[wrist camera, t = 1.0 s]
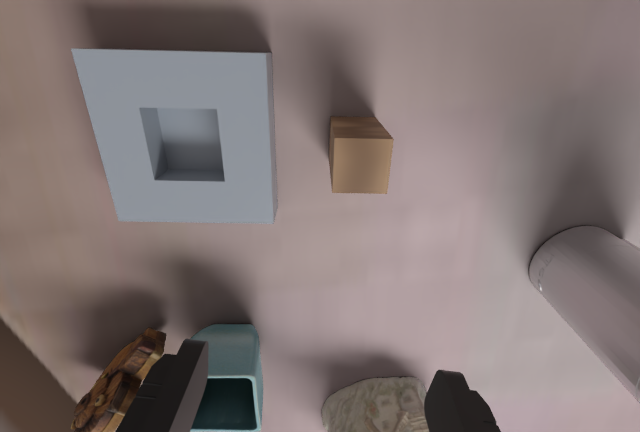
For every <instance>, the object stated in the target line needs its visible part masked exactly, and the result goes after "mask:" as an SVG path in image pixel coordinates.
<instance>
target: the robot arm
mask: <svg viewBox="0 0 640 432" xmlns="http://www.w3.org/2000/svg"><path fill="white" fill-rule="evenodd" d="M529 276H530V279H531V282H532V284H533V285H534V287H535V288H536V289H537V290H538V291H539V292H540V293H541V294H542V296H543V297H544V298H545V299H546V300H547V301H548V302H549V303H550V304H551V306H552V307H553V308H554V309H555V310H556V311H557V312H558V314H559V315H560V316H561V317H562V318H563V319H564V320H565V321H566V322H567V323H568V325H569V326H570V327H571V328H572V329H573V330H574V331H575V332H576V333H577V335H578V336H579V337H580V338H581V339H582V340H583V341H584V342H585V343H586V345H587V346H588V347H589V348H590V349H591V350H592V351H593V352H594V353H595V354H596V356H597V357H598V358H599V359H600V360H601V361H602V362H603V363H604V364H605V366H606V367H607V368H608V369H609V370H610V371H611V372H612V373H613V374H614V375H615V377H616V378H617V379H618V380H619V381H620V382H621V383H622V384H623V385H624V387H625V388H626V389H627V390H628V391H629V392H630V393H631V394H632V395H633V396H634V398H635V399H636V400H637V401H638V402H639V403H640V249H639V248H638V247H636V246H635V245H633V244H631V243H630V242H628V241H627V240H625V239H619V238H618V237H616V236H615V235H613V234H612V233H610V232H608V231H606V230H605V229H603V228H599V227H595V226H580V227H574V228H571V229H568V230H565V231H563V232H561V233H559V234H557V235H555V236H553V237H552V238H551V239H549V240H548V241H546V242H545V243H544V244H543V245H542V246H541V247H540V248H539V250H538V251H537V252H536V254H535V255H534V257H533V259H532V261H531V264H530V268H529ZM208 350H209V344H208V341H200V340H192V339H185V340H184V341H183V343H182V345H181V347H180V349H179V351H178V353H177V355H171V354H164V355H163V356H162V357H161V358H160V359H159V360H158V361H157V362H156V363H154V364H153V365H152V366H151V368H150V370H149V372H148V373H147V375H146V377H145V379H144V381H143V384H142V385H141V386H140V388H139V390H138V392H137V394H136V397H135V398H134V399H133V401H132V403H131V404H130V406H129V408H128V410H127V412H126V414H125V415H124V417H123V419H122V421H121V423H120V425H119V426H118V428H117V430H116V432H190V430H191V427H192V424H193V421H194V419H195V416H196V413H197V410H198V407H199V404H200V402H201V399H202V396H203V393H204V390H205V387H206V383H207V378H208ZM424 413H425V418H426V422H427V425H428V429H429V432H501V431H500V429H499V427H498V426H497V425H496V420H495V418H494V416H493V414H492V412H491V410H490V407H489V406H488V404H487V403H486V402H485V401H484V399H483V398H482V397H481V396H480V395H479V393H478V392H477V391H473V390H470V389H469V387H468V385H467V382H466V380H465V378H464V376H463V374H462V373H460V372H453V371H445V370H438V371H437V372H436V374H435V376H434V378H433V381H432V383H431V385H430V387H429V390H428V392H427V394H426V397H425V401H424Z"/></svg>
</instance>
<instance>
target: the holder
mask: <svg viewBox="0 0 640 432" xmlns="http://www.w3.org/2000/svg"><path fill="white" fill-rule="evenodd" d="M71 51H72V54H73V58H74V62H75V65H76V69H77V72H78V76H79V80H80V83H81V87H82V90H83V94H84V98H85V101H86V105H87V108H88V112H89V116H90V119H91V123H92V126H93V130H94V134H95V137H96V141H97V144H98V148H99V152H100V155H101V159H102V162H103V166H104V170H105V173H106V177H107V180H108V184H109V188H110V191H111V195H112V198H113V202H114V206H115V209H116V213H117V216H118V220H119V221H142V222H202V223H263V224H274V220H275V216H276V212H277V208H278V203H277V177H276V151H275V125H274V99H273V73H272V53H270V52H227V51H185V50H142V49H100V48H96V49H71Z"/></svg>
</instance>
